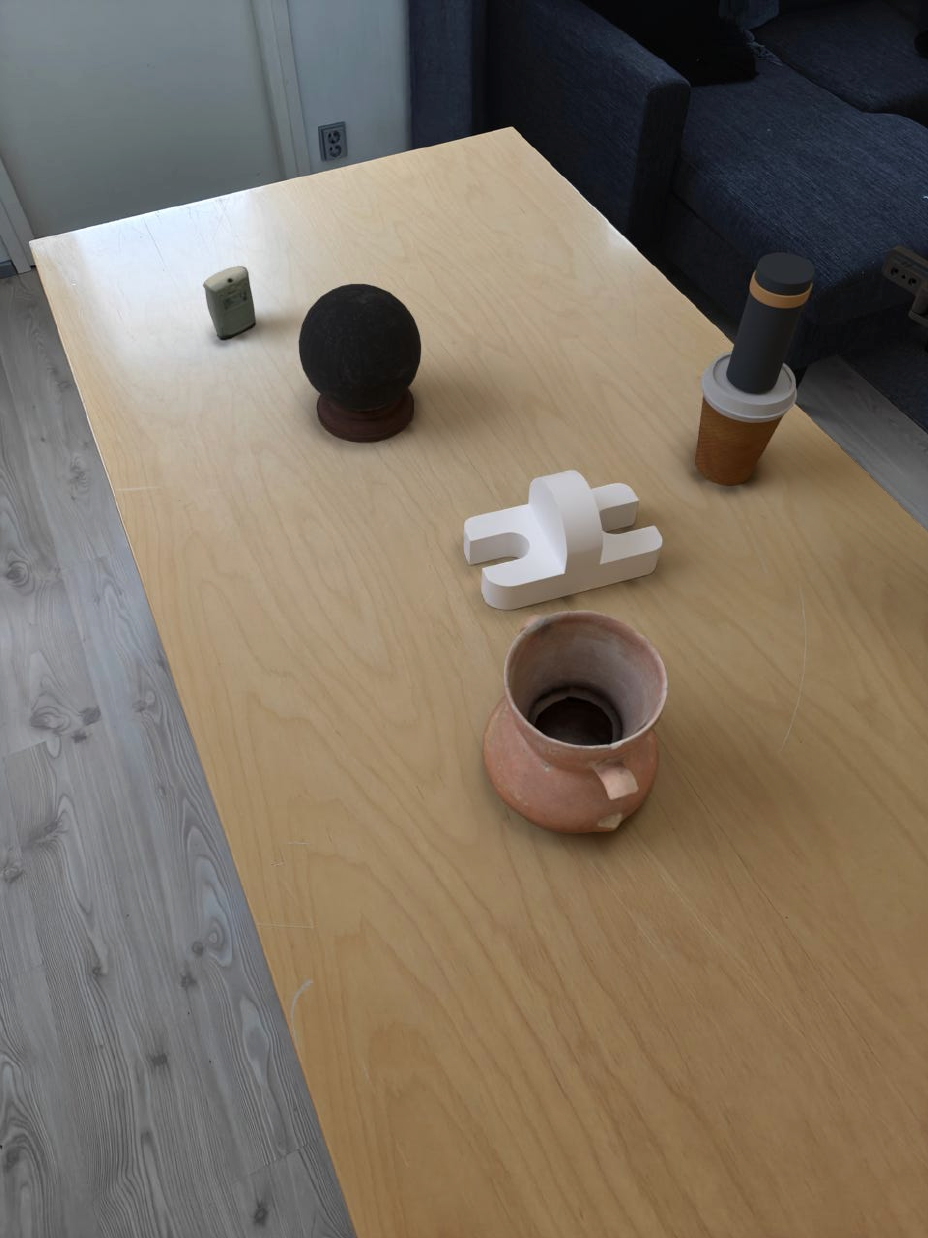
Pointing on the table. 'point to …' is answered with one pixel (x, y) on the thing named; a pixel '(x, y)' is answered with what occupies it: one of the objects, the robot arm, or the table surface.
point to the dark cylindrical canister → (769, 321)
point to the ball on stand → (361, 361)
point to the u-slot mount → (560, 542)
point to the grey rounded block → (230, 301)
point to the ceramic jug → (576, 722)
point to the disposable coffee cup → (737, 423)
